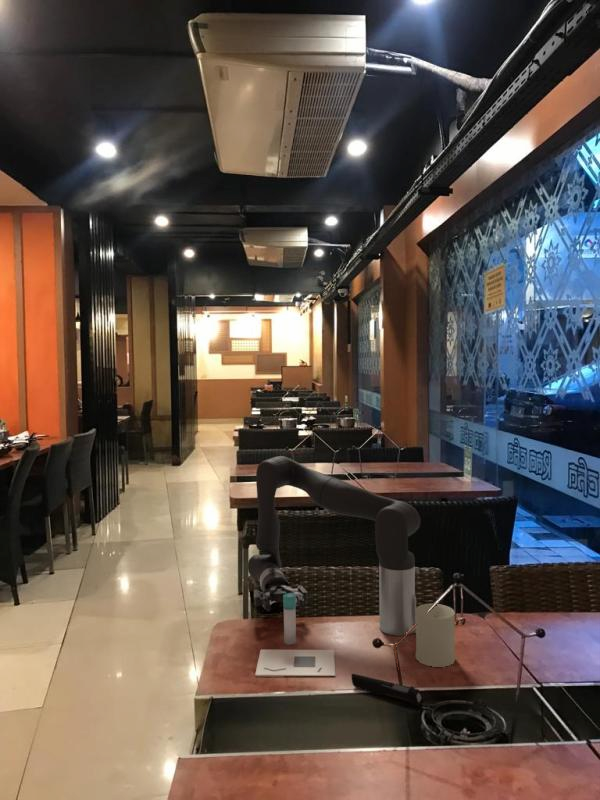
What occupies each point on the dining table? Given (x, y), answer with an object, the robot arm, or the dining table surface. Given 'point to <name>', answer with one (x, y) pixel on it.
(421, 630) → the can
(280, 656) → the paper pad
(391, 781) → the dining table surface
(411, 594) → the robot arm
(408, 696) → the electric trimmer
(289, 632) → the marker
